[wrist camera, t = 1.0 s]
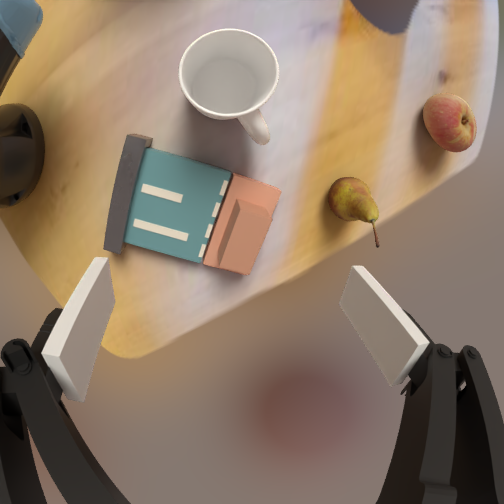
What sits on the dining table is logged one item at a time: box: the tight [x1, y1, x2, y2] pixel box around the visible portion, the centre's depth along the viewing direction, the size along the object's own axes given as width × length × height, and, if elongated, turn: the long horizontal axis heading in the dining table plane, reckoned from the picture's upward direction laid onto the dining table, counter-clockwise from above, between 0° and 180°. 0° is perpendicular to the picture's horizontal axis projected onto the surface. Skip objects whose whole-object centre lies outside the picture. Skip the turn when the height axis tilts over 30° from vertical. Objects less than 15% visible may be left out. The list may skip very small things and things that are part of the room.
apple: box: [423, 93, 477, 152], centre depth 28 cm, size 9×9×8 cm
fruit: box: [328, 177, 379, 247], centre depth 30 cm, size 6×6×12 cm
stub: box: [203, 173, 281, 275], centre depth 32 cm, size 6×12×6 cm, turn 159°
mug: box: [178, 29, 279, 145], centre depth 24 cm, size 12×8×10 cm
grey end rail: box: [103, 134, 153, 254], centre depth 30 cm, size 2×14×3 cm, turn 159°
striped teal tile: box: [124, 147, 231, 263], centre depth 32 cm, size 13×12×2 cm
